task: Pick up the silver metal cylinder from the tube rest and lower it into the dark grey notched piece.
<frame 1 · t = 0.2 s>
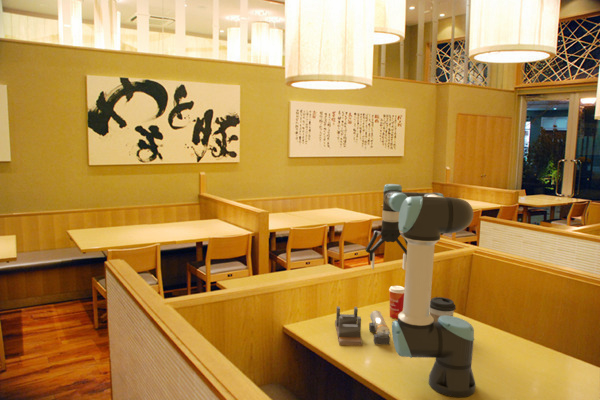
hand: (388, 268, 207), 27 cm above the table, tool pointing down, fingers open, 13 cm apart
paper cup: (395, 317, 224), on the table
coffee cup: (439, 334, 206), on the table
silver metal cylinder: (379, 329, 201), point 3 cm above the table, touching tube rest
dark grey notched piece: (347, 333, 203), on the table
tube rest: (378, 336, 201), on the table
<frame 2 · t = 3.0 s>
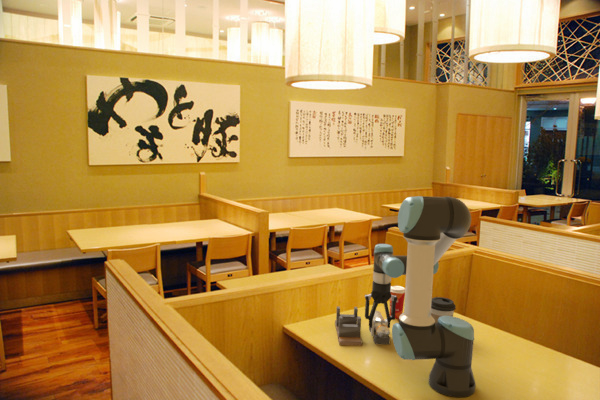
hand: (378, 334, 201), 1 cm above the table, tool pointing down, fingers closed on silver metal cylinder, 5 cm apart
silver metal cylinder: (379, 329, 201), point 3 cm above the table, touching gripper, tube rest
everything else where it was.
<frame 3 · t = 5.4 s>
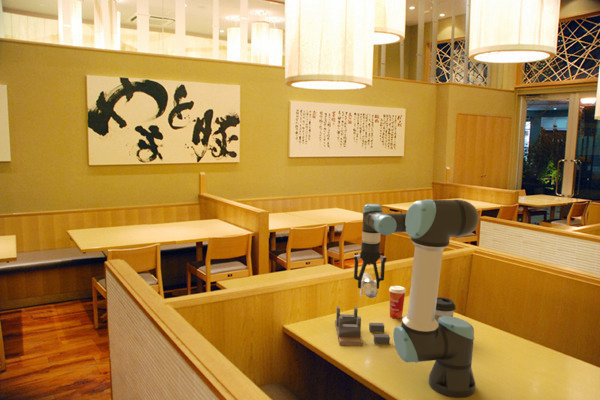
hand: (367, 295, 200), 17 cm above the table, tool pointing down, fingers closed on silver metal cylinder, 5 cm apart
silver metal cylinder: (368, 290, 200), point 19 cm above the table, touching gripper
everything else where it was.
when the fingers open (5 cm above the table, at t = 7.9 s): silver metal cylinder stays where it is, resting on dark grey notched piece.
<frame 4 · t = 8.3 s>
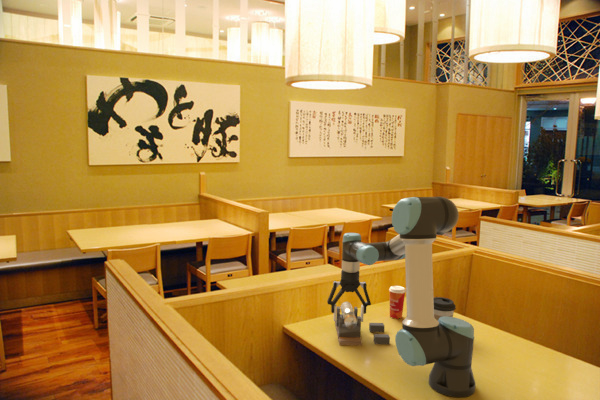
hand: (348, 320, 202), 6 cm above the table, tool pointing down, fingers open, 11 cm apart
silver metal cylinder: (348, 320, 202), point 6 cm above the table, touching dark grey notched piece
everything else where it was.
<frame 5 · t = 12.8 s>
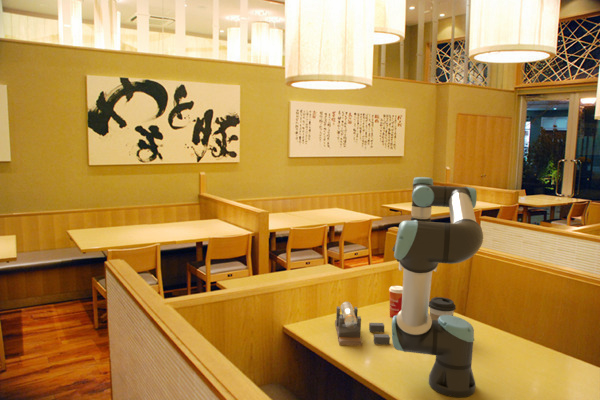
hand: (417, 270, 188), 32 cm above the table, tool pointing down, fingers open, 13 cm apart
nothing on the table moved.
at the end: silver metal cylinder 0.1 cm off-centre on the dark grey notched piece, point 6.0 cm above the dark grey notched piece's base; the gripper is holding nothing; silver metal cylinder touching dark grey notched piece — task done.
